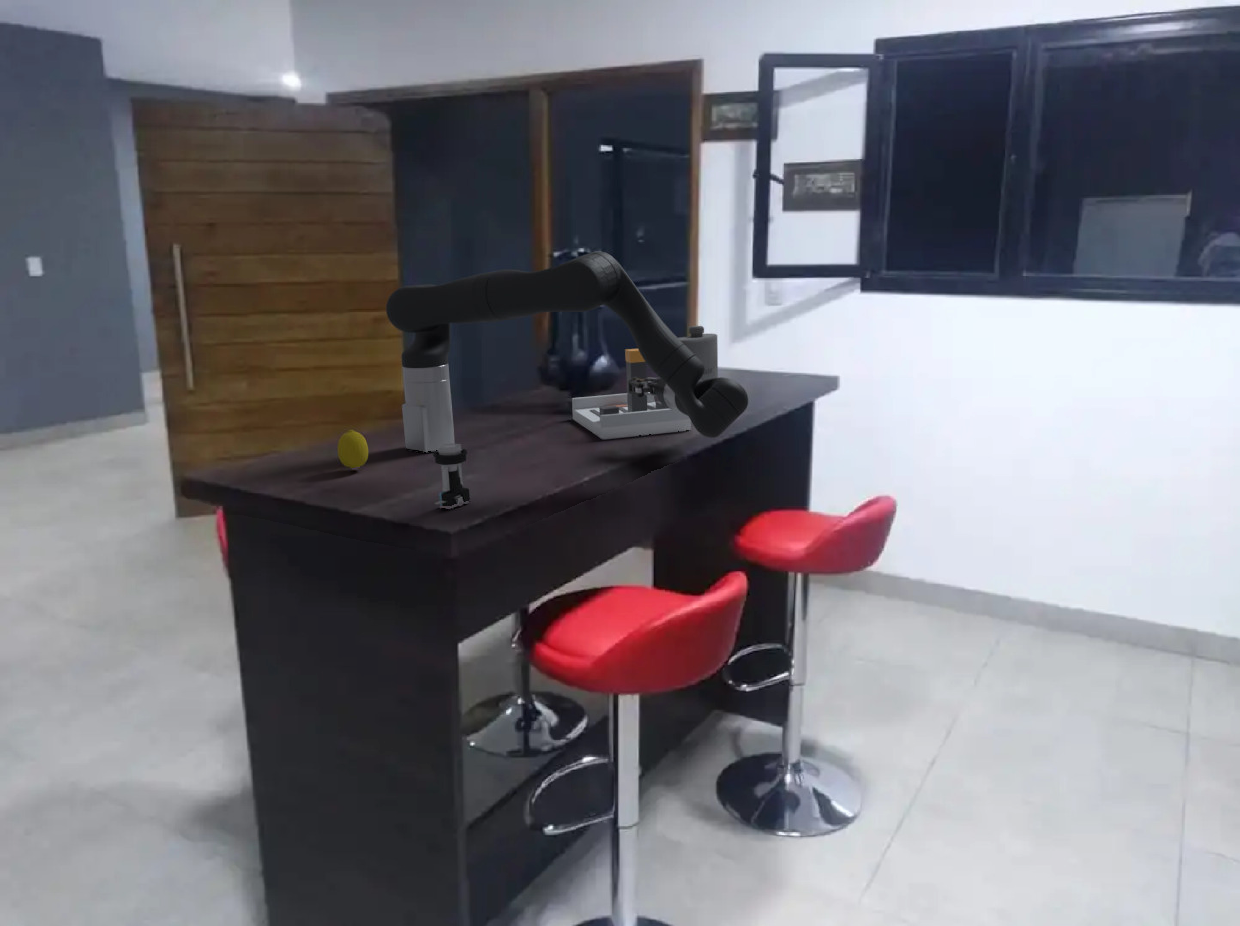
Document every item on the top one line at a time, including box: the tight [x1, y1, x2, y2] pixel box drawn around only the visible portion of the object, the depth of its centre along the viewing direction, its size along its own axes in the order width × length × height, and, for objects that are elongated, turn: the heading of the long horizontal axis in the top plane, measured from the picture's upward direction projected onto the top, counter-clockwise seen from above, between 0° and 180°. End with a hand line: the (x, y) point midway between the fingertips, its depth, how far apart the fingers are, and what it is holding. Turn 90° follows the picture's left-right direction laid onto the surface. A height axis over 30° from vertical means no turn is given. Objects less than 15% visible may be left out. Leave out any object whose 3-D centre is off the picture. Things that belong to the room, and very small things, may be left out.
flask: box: [677, 325, 719, 380], centre depth 217 cm, size 15×6×20 cm, turn 138°
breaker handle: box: [624, 348, 647, 412], centre depth 197 cm, size 3×4×14 cm
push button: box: [432, 443, 471, 506], centre depth 145 cm, size 7×5×10 cm
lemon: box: [337, 429, 369, 469], centre depth 171 cm, size 6×6×8 cm
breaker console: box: [571, 392, 692, 440], centre depth 204 cm, size 24×20×6 cm
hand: (653, 380), depth 186 cm, fingers open, 8 cm apart
